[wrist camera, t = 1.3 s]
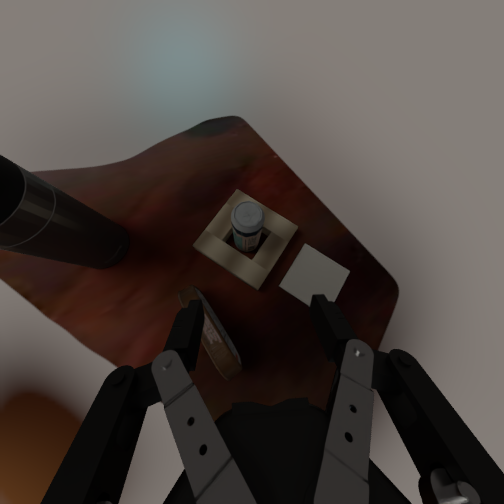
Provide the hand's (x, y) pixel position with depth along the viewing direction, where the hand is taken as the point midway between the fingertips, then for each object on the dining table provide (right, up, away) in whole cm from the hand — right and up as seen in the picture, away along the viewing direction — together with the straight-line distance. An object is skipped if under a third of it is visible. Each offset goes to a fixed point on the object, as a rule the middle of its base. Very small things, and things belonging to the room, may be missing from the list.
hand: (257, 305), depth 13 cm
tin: (-7, -9, +19) cm, 22 cm away
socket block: (-1, +6, +23) cm, 24 cm away
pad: (+12, -1, +22) cm, 25 cm away
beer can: (-1, +6, +23) cm, 24 cm away
